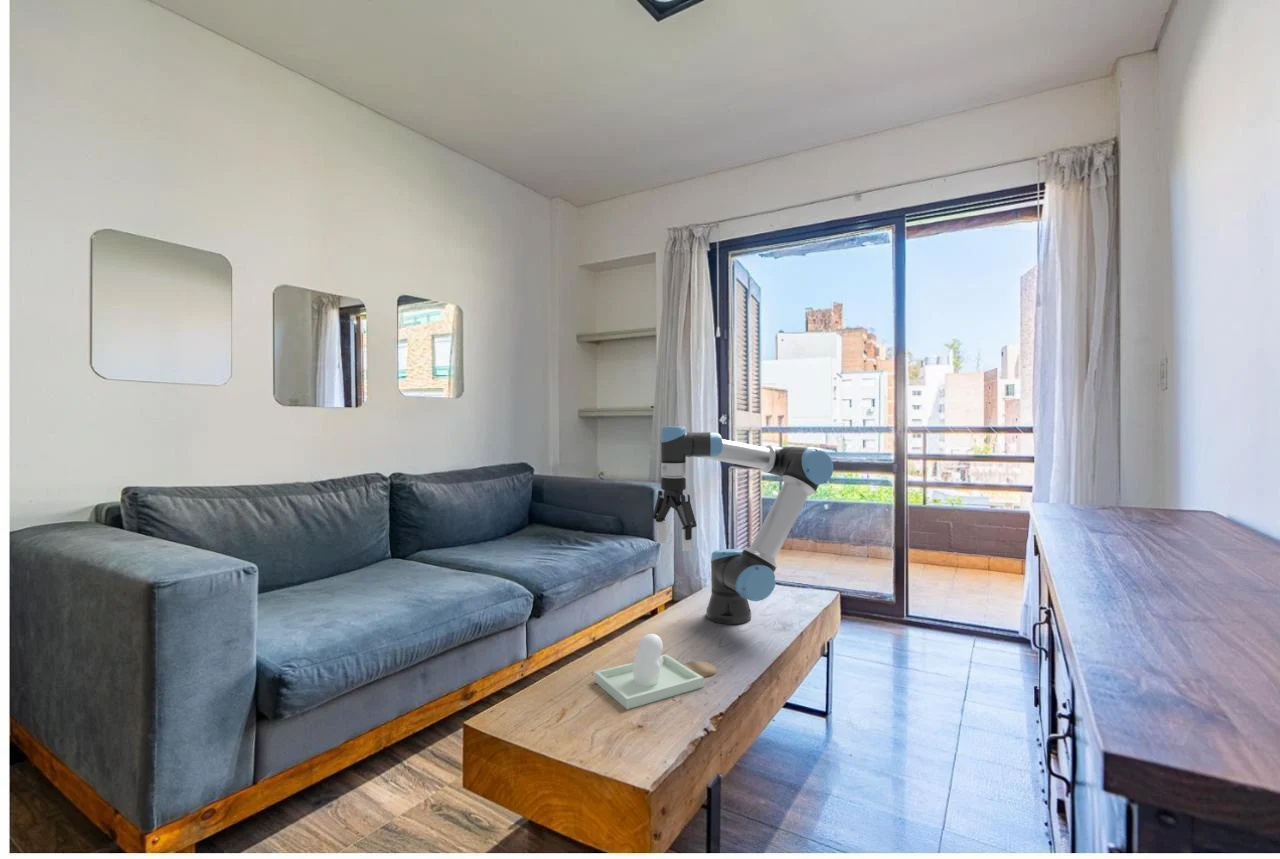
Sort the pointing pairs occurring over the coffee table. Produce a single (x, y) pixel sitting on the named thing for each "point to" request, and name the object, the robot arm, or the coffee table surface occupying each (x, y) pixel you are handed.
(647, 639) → the figurine
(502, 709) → the coffee table surface
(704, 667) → the metal coaster
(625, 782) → the coffee table surface
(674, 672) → the tray
